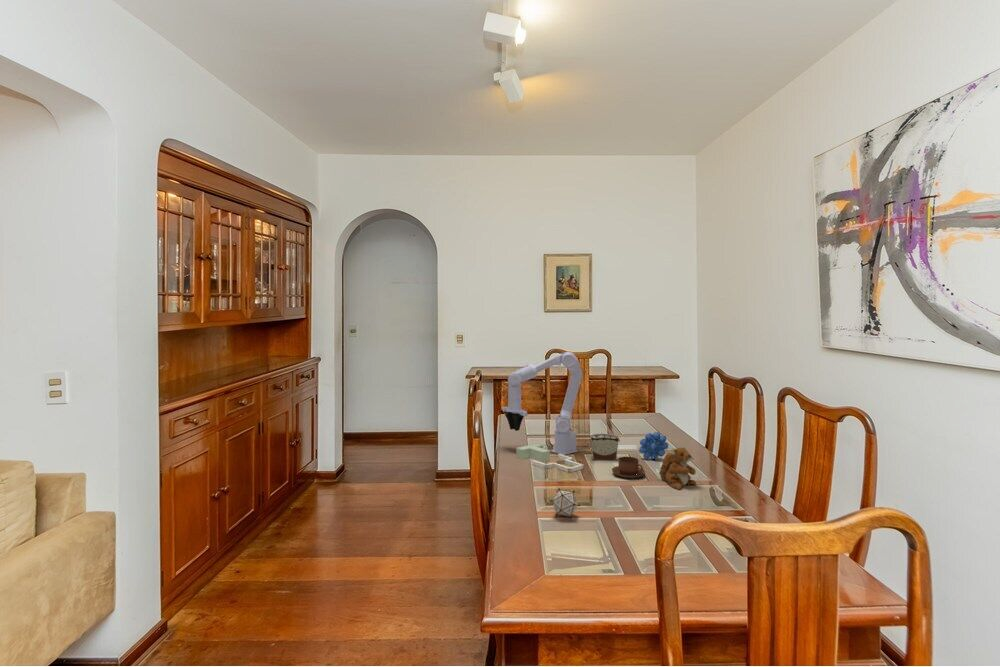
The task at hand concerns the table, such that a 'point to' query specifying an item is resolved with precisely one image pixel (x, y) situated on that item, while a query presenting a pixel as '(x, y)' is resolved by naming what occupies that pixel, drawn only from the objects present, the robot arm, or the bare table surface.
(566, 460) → the T socket
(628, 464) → the cup and saucer
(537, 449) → the T block
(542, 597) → the table surface
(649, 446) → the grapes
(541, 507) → the table surface
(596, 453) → the food container
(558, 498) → the game die
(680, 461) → the stuffed squirrel
